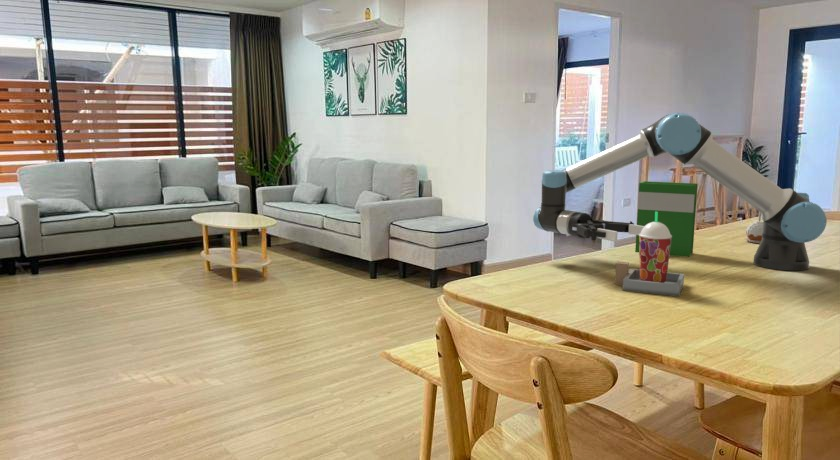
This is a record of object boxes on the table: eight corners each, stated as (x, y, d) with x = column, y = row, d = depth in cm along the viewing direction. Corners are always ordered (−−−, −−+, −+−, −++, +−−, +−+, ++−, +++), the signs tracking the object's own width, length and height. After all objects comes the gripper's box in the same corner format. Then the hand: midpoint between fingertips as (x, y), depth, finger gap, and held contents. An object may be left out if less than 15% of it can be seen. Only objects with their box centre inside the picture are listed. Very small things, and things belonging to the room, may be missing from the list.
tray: (683, 284, 178) (685, 263, 177) (678, 296, 165) (680, 274, 164) (620, 277, 185) (621, 257, 184) (611, 289, 173) (612, 267, 172)
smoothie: (668, 281, 177) (672, 210, 173) (669, 289, 169) (673, 214, 166) (636, 279, 180) (640, 209, 176) (636, 287, 172) (639, 213, 168)
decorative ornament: (765, 241, 242) (769, 201, 240) (771, 244, 235) (775, 204, 232) (743, 240, 244) (746, 201, 242) (748, 243, 237) (752, 203, 234)
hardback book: (692, 253, 220) (697, 183, 216) (690, 257, 213) (695, 185, 209) (639, 248, 228) (643, 181, 224) (635, 252, 222) (639, 183, 218)
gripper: (602, 232, 203) (659, 242, 186) (545, 240, 190) (601, 252, 172) (603, 208, 202) (661, 217, 185) (546, 215, 189) (603, 224, 171)
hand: (632, 234), depth 179 cm, fingers open, 13 cm apart
